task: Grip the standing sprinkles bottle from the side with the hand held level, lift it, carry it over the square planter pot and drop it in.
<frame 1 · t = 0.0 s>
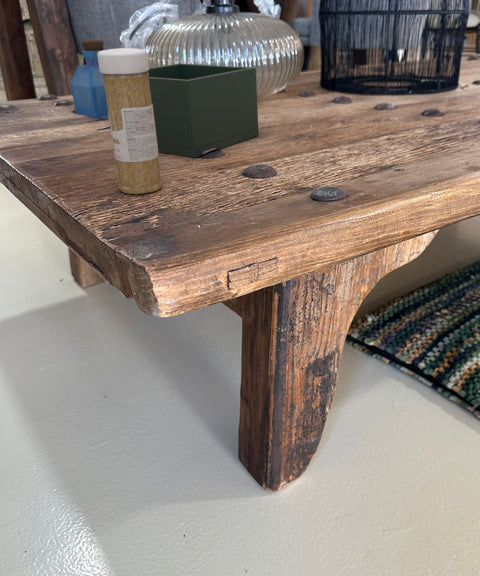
perfume bottle: (106, 125, 89), on the table
sprinkles bottle: (142, 190, 59), on the table
square planter pot: (190, 140, 78), on the table
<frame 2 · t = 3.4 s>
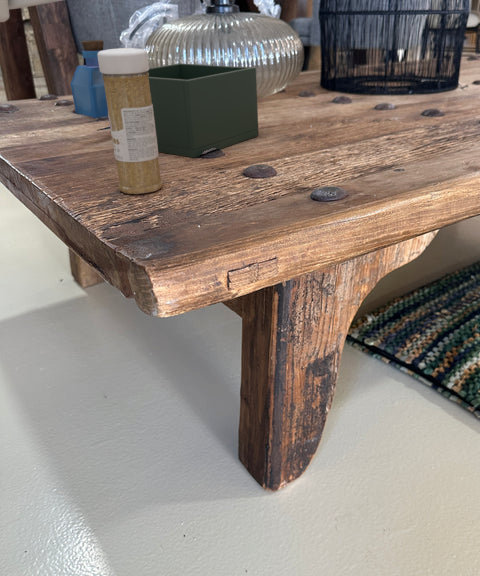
nothing on the table moved.
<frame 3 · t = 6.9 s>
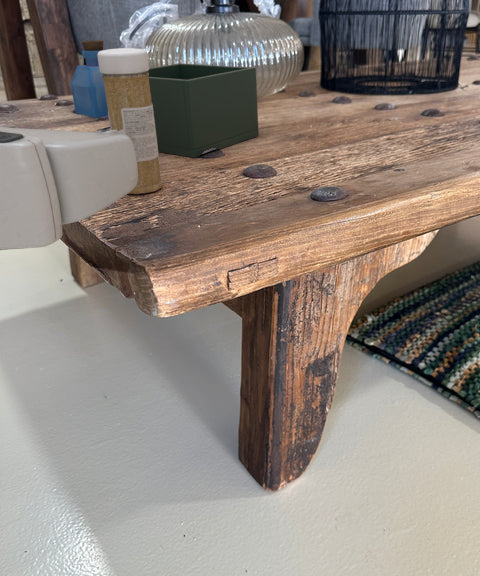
hand: (62, 136, 47), 8 cm above the table, tool horizontal, fingers open, 8 cm apart
nothing on the table moved.
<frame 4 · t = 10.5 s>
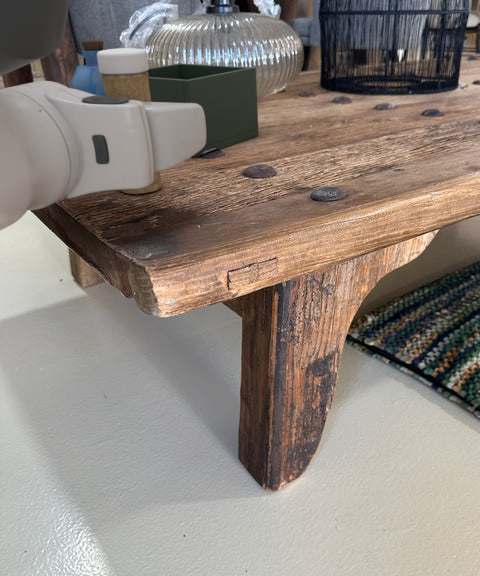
hand: (135, 109, 56), 8 cm above the table, tool horizontal, fingers closed on sprinkles bottle, 4 cm apart
sprinkles bottle: (142, 190, 59), on the table, touching gripper
everything else where it was.
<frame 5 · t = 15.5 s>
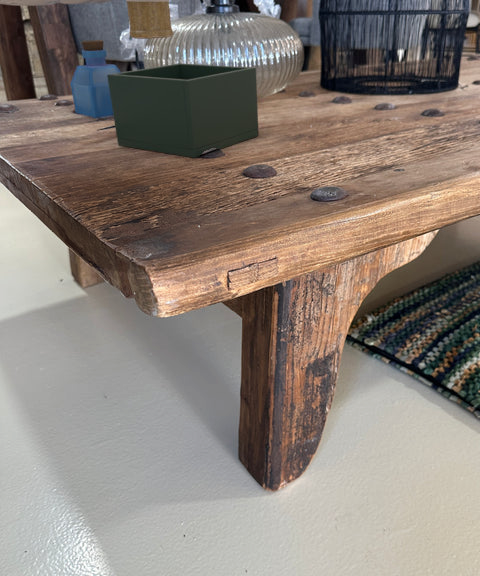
sprinkles bottle: (152, 39, 60), point 14 cm above the table, touching gripper
everything else where it was.
when the fingers open (15 cm above the table, at t = 20.6 s): sprinkles bottle drops 6 cm, resting on square planter pot.
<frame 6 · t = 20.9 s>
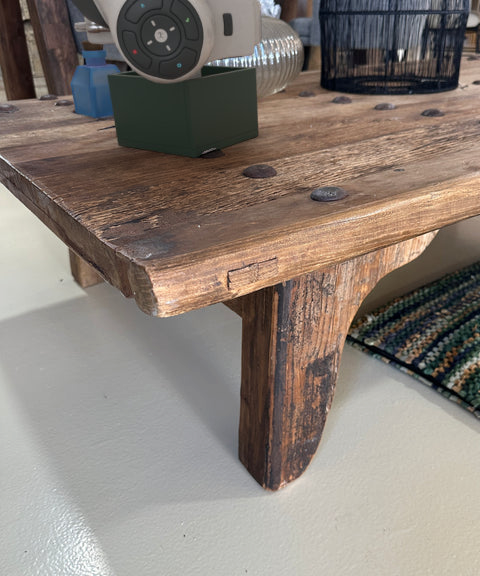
hand: (178, 20, 72), 15 cm above the table, tool horizontal, fingers open, 6 cm apart
sprinkles bottle: (189, 134, 78), point 1 cm above the table, touching square planter pot
everything else where it was.
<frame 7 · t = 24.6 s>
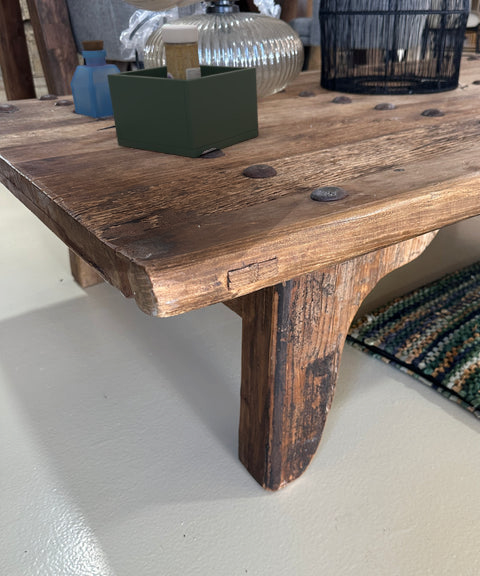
nothing on the table moved.
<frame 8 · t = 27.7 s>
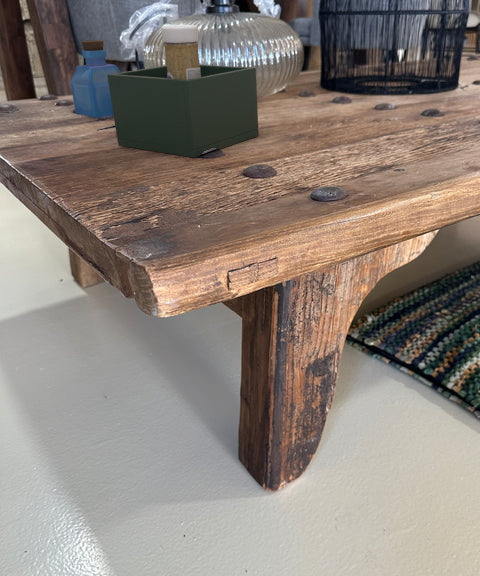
nothing on the table moved.
at the end: sprinkles bottle inside the target area in the square planter pot (0.1 cm from its centre), point 0.8 cm above the square planter pot's base; the gripper is holding nothing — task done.
